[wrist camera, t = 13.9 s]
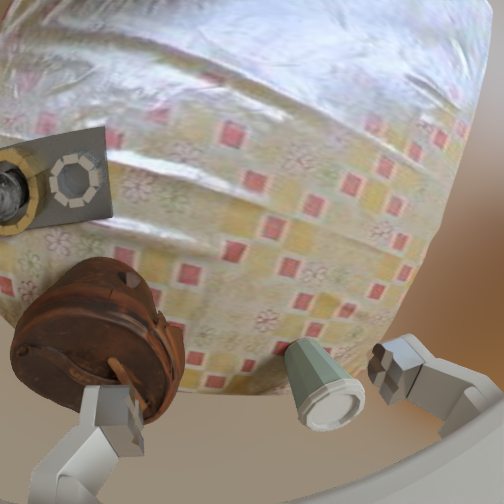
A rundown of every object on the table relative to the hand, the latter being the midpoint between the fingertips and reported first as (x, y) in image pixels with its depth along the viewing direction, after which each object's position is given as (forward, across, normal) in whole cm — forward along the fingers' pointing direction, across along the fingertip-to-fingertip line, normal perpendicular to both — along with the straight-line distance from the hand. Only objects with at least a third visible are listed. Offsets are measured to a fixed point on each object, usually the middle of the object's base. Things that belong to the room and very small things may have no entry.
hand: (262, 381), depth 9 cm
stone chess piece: (+30, +24, -2) cm, 39 cm away
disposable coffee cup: (+31, -16, +30) cm, 46 cm away
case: (+31, +13, +15) cm, 37 cm away
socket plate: (+31, +20, -2) cm, 37 cm away
